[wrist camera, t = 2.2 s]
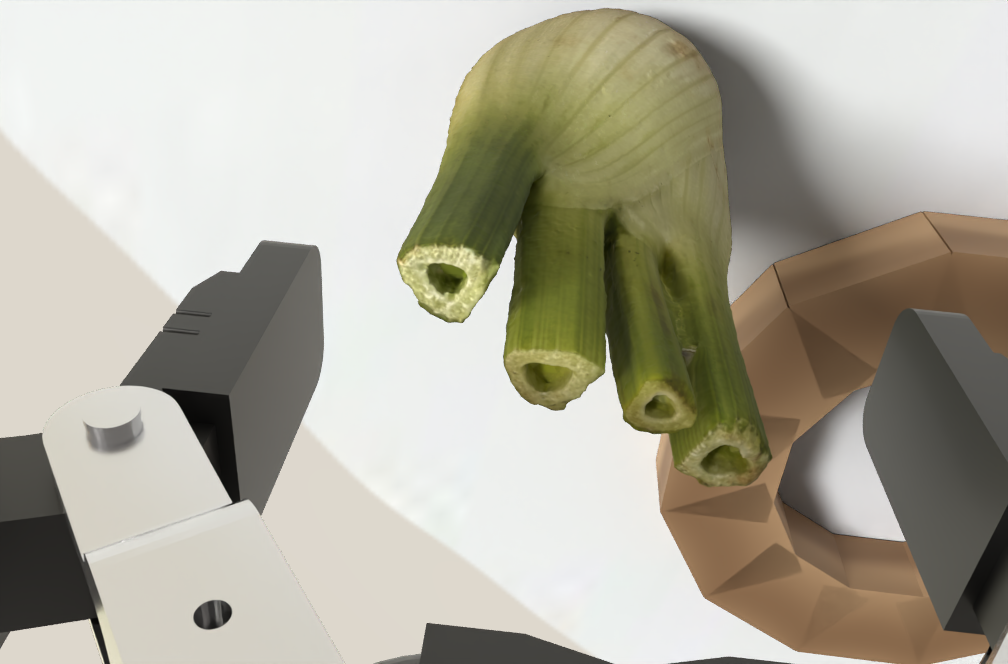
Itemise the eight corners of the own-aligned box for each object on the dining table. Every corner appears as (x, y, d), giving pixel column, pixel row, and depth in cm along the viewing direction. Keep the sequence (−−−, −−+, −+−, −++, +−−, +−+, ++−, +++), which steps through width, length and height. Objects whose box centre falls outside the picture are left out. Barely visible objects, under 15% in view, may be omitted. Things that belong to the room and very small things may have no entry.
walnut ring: (1288, 250, 22) (1352, 294, 20) (1055, 628, 30) (1086, 687, 28) (715, 188, 22) (726, 227, 21) (630, 578, 30) (632, 631, 28)
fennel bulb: (457, 36, 21) (330, 287, 11) (652, -71, 19) (713, 104, 9) (569, 237, 24) (549, 592, 13) (749, 156, 22) (881, 489, 12)
